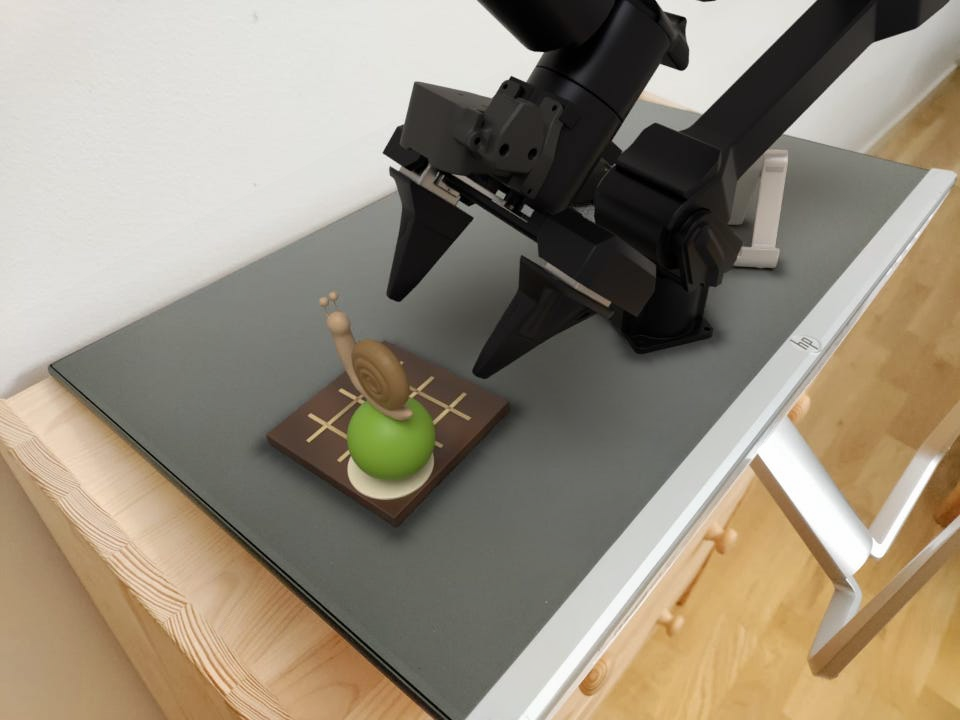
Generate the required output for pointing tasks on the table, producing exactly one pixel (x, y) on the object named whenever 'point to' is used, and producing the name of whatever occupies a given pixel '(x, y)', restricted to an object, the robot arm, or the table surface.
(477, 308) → the table surface
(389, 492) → the cream round disc
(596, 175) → the tape measure
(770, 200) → the tablet stand
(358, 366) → the snail figurine
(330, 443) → the game board
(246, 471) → the table surface
